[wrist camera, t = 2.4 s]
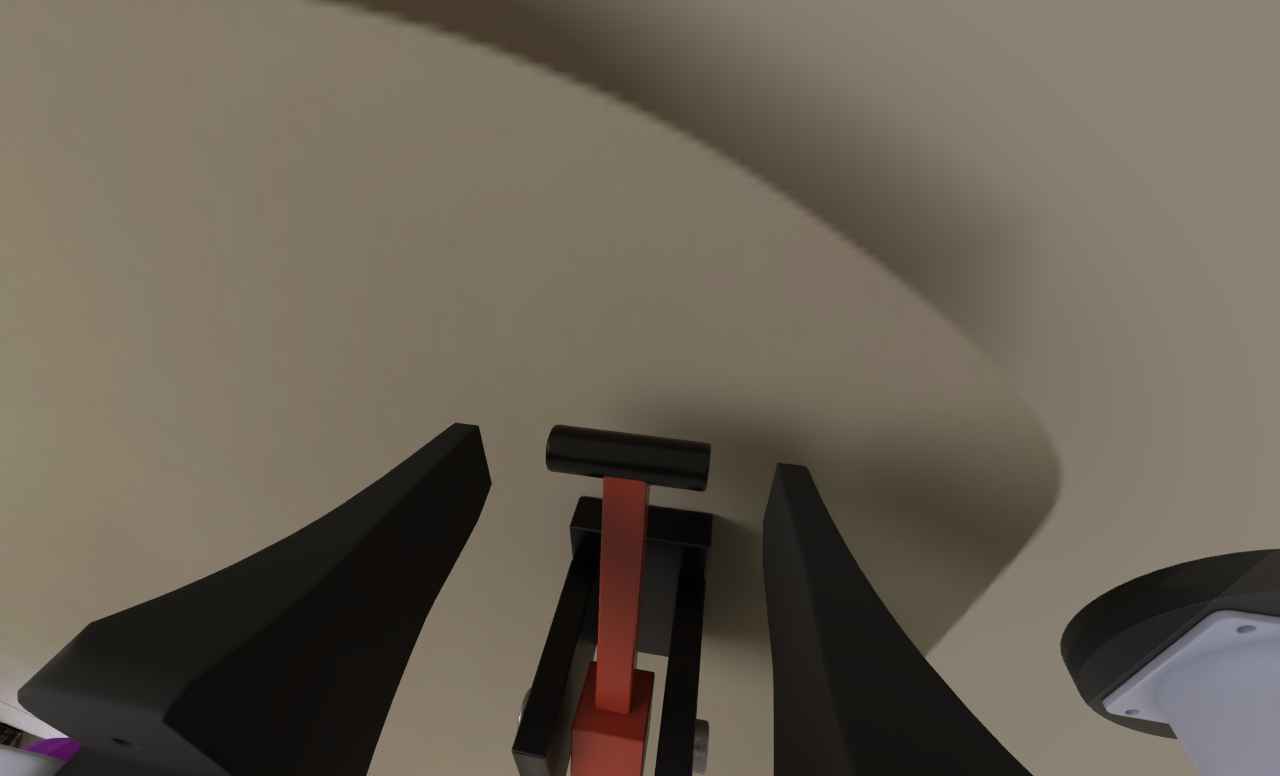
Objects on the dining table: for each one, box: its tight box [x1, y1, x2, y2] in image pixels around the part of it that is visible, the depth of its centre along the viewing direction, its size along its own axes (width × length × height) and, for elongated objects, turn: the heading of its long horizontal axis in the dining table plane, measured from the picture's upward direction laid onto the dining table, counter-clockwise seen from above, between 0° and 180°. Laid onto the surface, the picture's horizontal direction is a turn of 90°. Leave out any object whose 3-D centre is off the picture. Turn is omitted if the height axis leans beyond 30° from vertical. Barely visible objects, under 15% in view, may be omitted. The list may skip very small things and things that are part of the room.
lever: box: [546, 425, 711, 776], centre depth 15 cm, size 12×4×2 cm, turn 179°
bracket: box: [512, 497, 713, 776], centre depth 18 cm, size 8×6×8 cm
